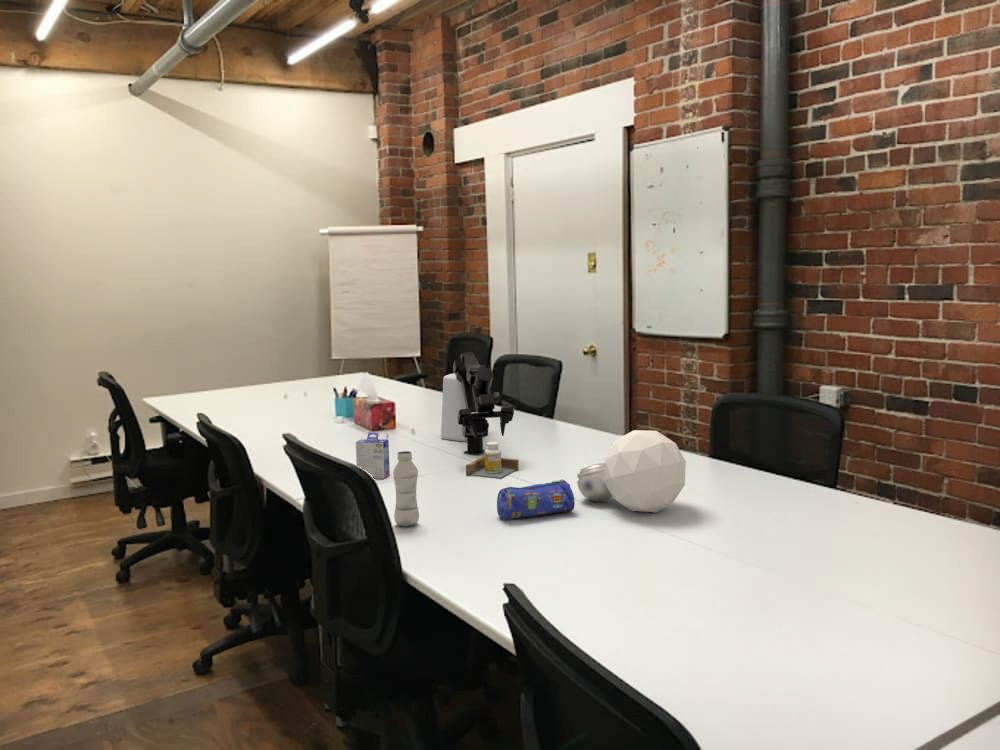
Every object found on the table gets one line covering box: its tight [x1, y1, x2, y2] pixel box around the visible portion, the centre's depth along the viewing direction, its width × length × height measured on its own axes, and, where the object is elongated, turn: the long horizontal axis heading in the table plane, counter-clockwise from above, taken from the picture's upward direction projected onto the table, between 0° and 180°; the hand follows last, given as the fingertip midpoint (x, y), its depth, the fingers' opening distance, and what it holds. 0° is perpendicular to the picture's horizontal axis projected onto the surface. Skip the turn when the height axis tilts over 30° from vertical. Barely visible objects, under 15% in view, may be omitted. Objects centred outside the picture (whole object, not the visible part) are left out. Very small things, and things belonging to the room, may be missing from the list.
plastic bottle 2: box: [440, 372, 485, 443], centre depth 334 cm, size 15×15×28 cm
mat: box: [470, 467, 516, 480], centre depth 281 cm, size 11×11×1 cm
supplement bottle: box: [484, 441, 502, 473], centre depth 280 cm, size 5×5×10 cm
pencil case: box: [496, 478, 576, 521], centre depth 235 cm, size 22×9×10 cm, turn 111°
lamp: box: [576, 429, 687, 513], centre depth 240 cm, size 22×34×24 cm, turn 49°
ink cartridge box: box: [355, 432, 391, 480], centre depth 279 cm, size 10×6×14 cm, turn 78°
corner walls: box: [465, 455, 520, 477], centre depth 281 cm, size 13×13×4 cm
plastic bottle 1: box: [392, 450, 420, 527], centre depth 228 cm, size 6×7×20 cm
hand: (489, 436), depth 284 cm, fingers open, 9 cm apart
